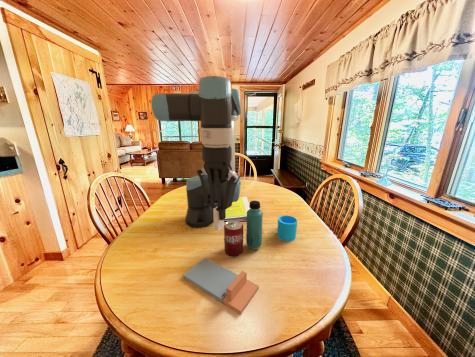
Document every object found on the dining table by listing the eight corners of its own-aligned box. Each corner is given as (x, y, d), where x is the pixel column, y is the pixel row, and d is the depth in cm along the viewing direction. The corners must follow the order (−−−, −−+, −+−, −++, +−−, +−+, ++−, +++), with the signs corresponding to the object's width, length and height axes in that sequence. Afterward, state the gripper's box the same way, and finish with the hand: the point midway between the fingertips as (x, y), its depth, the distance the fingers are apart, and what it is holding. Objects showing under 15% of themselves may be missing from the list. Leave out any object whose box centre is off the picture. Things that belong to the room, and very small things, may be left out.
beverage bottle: (263, 244, 81) (265, 199, 75) (259, 254, 75) (261, 206, 69) (248, 241, 83) (249, 197, 77) (243, 250, 77) (244, 204, 71)
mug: (297, 241, 82) (299, 224, 80) (278, 241, 83) (279, 224, 80) (291, 227, 94) (292, 211, 92) (274, 226, 94) (275, 211, 92)
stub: (223, 303, 54) (222, 289, 53) (242, 280, 62) (242, 267, 61) (240, 314, 51) (240, 300, 50) (258, 288, 59) (259, 276, 58)
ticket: (183, 277, 63) (183, 274, 63) (204, 260, 71) (204, 257, 71) (221, 302, 54) (221, 298, 54) (241, 279, 62) (241, 275, 62)
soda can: (224, 246, 79) (223, 220, 76) (242, 245, 80) (242, 219, 76) (224, 258, 72) (224, 230, 69) (244, 257, 73) (244, 229, 69)
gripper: (187, 145, 49) (193, 227, 56) (228, 149, 42) (229, 242, 49) (207, 142, 55) (210, 217, 62) (246, 145, 48) (245, 229, 55)
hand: (219, 228), depth 55 cm, fingers closed
